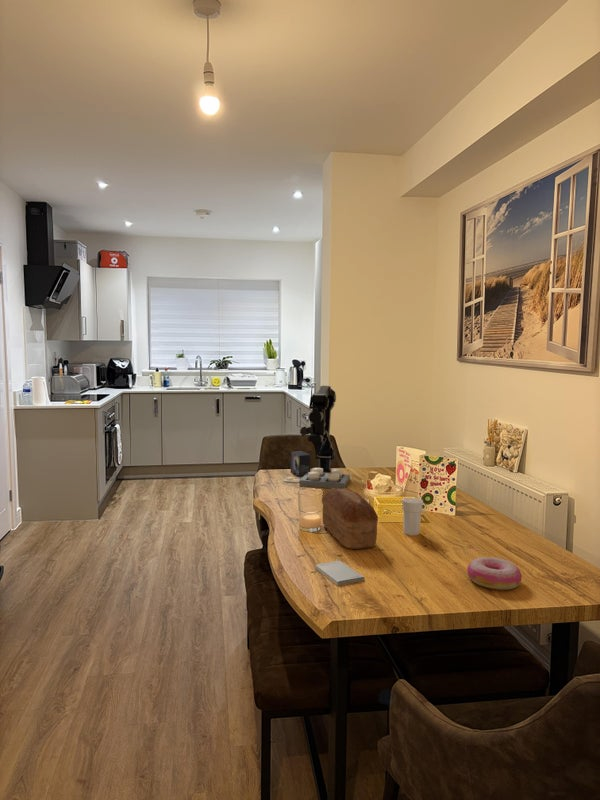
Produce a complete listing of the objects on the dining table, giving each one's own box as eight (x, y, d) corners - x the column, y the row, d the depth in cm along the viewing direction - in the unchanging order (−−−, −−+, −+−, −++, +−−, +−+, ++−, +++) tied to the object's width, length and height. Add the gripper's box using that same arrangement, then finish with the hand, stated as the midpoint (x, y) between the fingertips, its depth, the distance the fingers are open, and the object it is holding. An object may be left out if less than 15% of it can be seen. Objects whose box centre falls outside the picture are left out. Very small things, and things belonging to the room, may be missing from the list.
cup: (398, 534, 180) (400, 501, 179) (404, 528, 186) (405, 496, 185) (418, 537, 177) (420, 504, 176) (423, 531, 183) (424, 499, 182)
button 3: (329, 479, 247) (329, 472, 247) (340, 479, 246) (340, 473, 246) (327, 481, 243) (327, 475, 242) (338, 482, 241) (338, 475, 241)
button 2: (313, 473, 258) (313, 467, 258) (323, 474, 257) (324, 468, 257) (311, 475, 253) (311, 469, 253) (321, 476, 252) (322, 470, 252)
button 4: (332, 474, 256) (332, 468, 256) (342, 475, 255) (343, 469, 255) (330, 477, 251) (330, 470, 251) (341, 478, 250) (341, 471, 250)
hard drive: (364, 576, 143) (340, 559, 154) (337, 581, 140) (314, 564, 151) (364, 582, 143) (340, 565, 154) (337, 588, 140) (314, 569, 151)
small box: (289, 472, 270) (289, 451, 269) (301, 471, 273) (301, 450, 272) (298, 477, 261) (298, 455, 260) (310, 475, 263) (311, 454, 263)
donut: (469, 568, 153) (470, 551, 152) (521, 577, 148) (522, 558, 147) (464, 587, 140) (465, 568, 140) (520, 597, 135) (521, 577, 135)
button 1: (309, 477, 249) (309, 471, 249) (320, 478, 248) (320, 472, 248) (307, 480, 245) (307, 473, 244) (318, 481, 243) (318, 474, 243)
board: (290, 475, 263) (290, 470, 263) (349, 479, 256) (349, 474, 256) (280, 484, 245) (281, 478, 245) (344, 488, 239) (344, 483, 239)
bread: (350, 522, 193) (351, 482, 191) (382, 550, 166) (383, 503, 164) (317, 524, 190) (318, 483, 188) (344, 553, 163) (345, 505, 161)
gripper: (305, 417, 264) (305, 449, 265) (297, 422, 246) (296, 457, 247) (328, 418, 261) (328, 451, 263) (321, 423, 243) (320, 458, 245)
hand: (318, 454), depth 254 cm, fingers open, 3 cm apart
